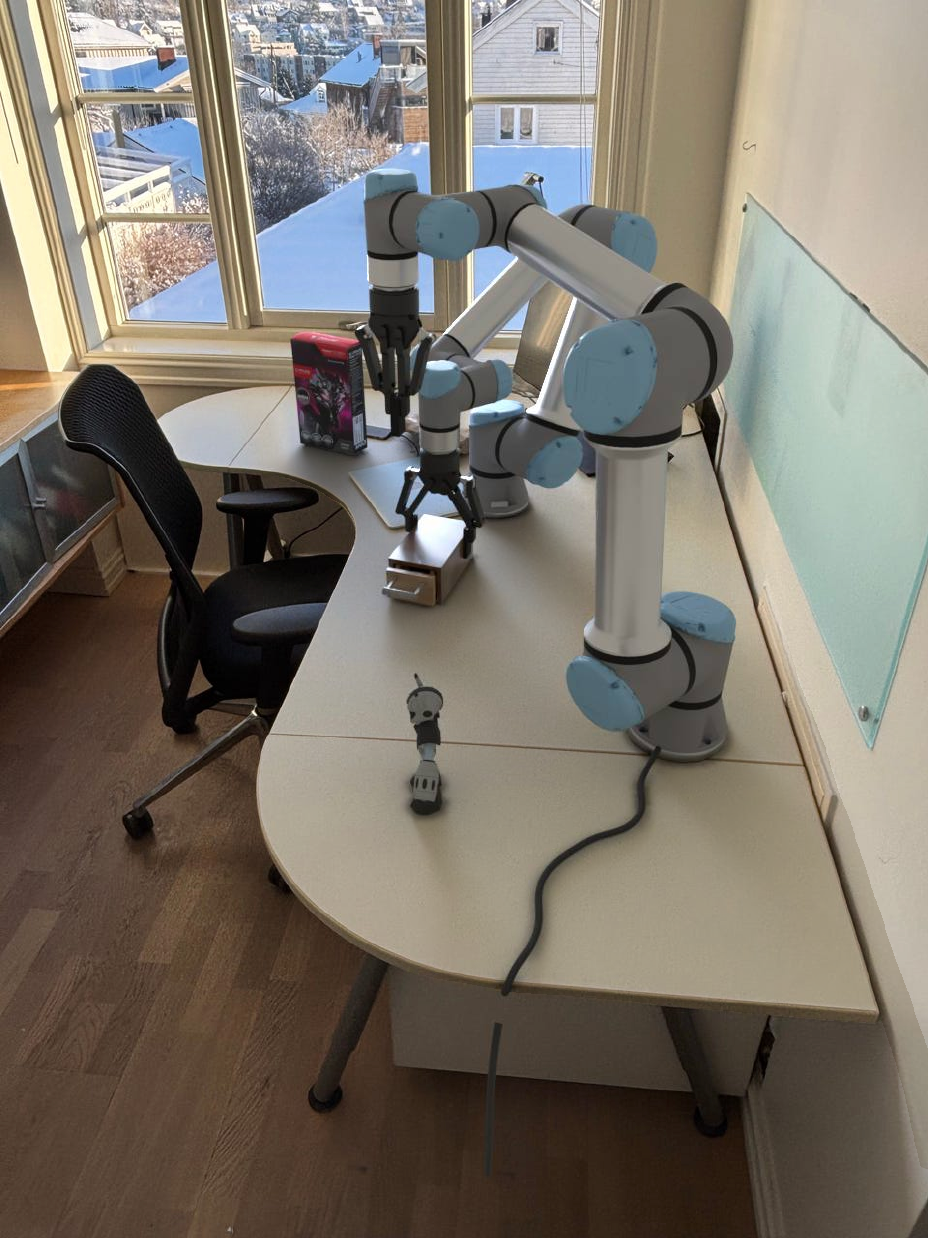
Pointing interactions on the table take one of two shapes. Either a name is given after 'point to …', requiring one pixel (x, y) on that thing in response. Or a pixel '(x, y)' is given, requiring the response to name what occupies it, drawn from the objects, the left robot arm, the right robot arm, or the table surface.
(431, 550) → the cabinet
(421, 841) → the table surface
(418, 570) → the drawer
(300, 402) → the graphics card box
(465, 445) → the stone
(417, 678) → the robot
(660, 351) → the right robot arm
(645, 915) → the table surface
